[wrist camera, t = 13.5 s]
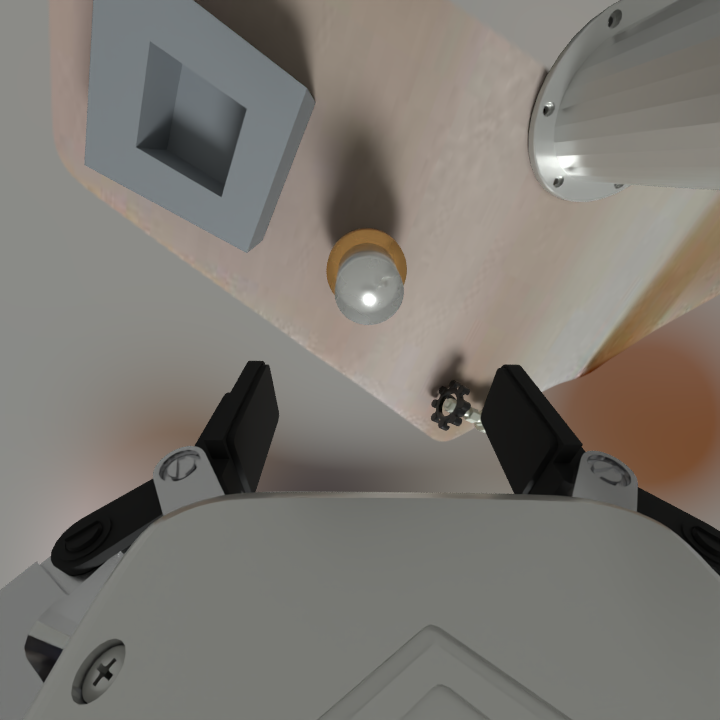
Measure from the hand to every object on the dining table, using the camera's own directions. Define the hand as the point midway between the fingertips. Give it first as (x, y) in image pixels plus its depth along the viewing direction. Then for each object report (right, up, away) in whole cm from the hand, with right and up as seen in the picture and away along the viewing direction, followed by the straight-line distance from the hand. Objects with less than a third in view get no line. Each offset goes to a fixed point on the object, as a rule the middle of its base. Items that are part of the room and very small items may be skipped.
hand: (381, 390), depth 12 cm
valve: (+15, -5, +30) cm, 34 cm away
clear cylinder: (0, +12, +18) cm, 21 cm away
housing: (-13, +20, +12) cm, 26 cm away
